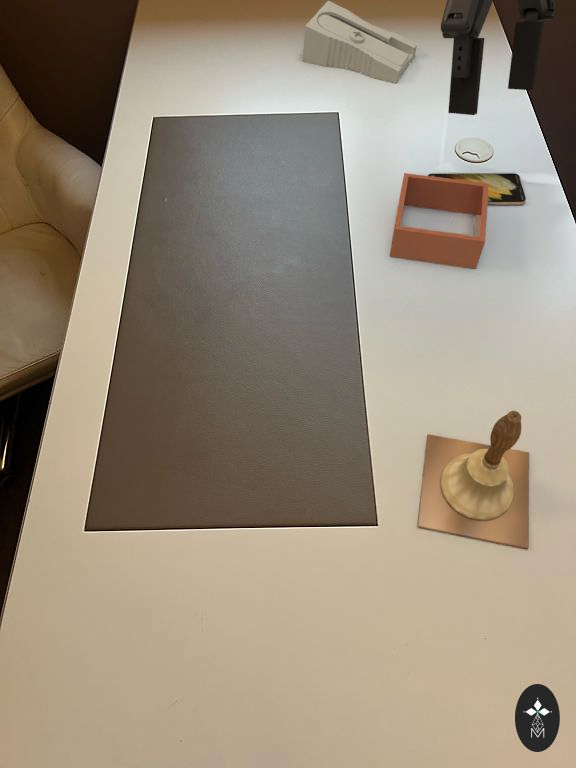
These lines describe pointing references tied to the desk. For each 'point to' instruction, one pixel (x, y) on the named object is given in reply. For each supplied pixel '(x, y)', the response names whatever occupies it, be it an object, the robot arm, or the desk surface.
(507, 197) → the smartphone
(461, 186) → the open box
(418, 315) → the desk surface
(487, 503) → the hand bell
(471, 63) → the robot arm
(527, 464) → the copper plate
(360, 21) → the wedge sharpener
